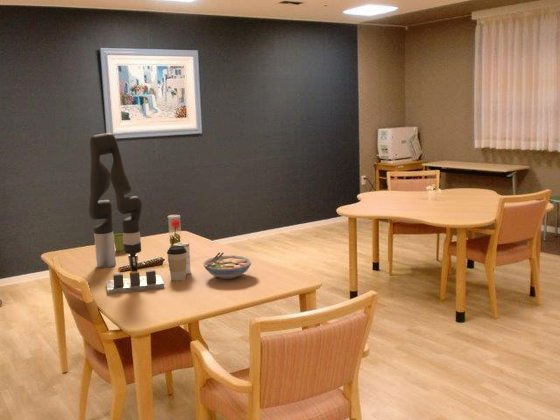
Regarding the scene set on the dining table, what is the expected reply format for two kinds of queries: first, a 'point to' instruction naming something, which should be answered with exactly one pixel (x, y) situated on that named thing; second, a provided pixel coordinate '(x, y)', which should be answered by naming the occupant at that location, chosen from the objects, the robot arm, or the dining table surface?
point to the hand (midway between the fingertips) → (134, 279)
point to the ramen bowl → (227, 265)
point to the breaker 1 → (118, 279)
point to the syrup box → (186, 246)
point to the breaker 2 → (150, 276)
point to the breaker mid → (134, 277)
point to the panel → (136, 287)
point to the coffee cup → (177, 262)
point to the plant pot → (118, 242)
